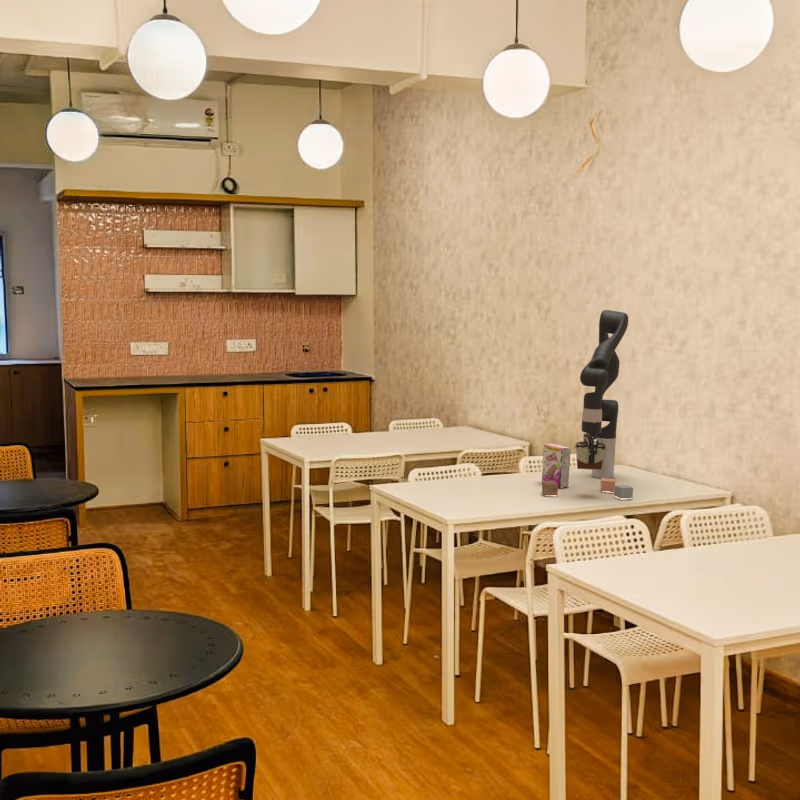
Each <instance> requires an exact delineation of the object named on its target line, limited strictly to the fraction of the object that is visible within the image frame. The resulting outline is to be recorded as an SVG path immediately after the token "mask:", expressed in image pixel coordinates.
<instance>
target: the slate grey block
mask: <svg viewBox="0 0 800 800" xmlns="http://www.w3.org/2000/svg"><path fill="white" fill-rule="evenodd" d="M633 493H634V487H632V486H630V485H628V484H615V491H614V495H615V496H617V497H619V498H631V497H632V498H633V496H634V495H633ZM614 495H613V496H614Z"/></svg>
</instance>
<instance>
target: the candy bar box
mask: <svg viewBox="0 0 800 800" xmlns="http://www.w3.org/2000/svg"><path fill="white" fill-rule="evenodd" d="M570 461H571V448H570V447H568V446H567V447H566V446H563V445H559V444H556V443H555V444H554V443H545V444H543V455H542V474H541V484H542V483H543V481H552V482H556V483H557V484H558V487H559V488H558V489H563V488H562V487H567V488H569V485H570V484H569V483H570V482H569V479H570Z"/></svg>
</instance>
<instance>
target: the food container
mask: <svg viewBox="0 0 800 800" xmlns="http://www.w3.org/2000/svg"><path fill="white" fill-rule="evenodd" d="M584 442H585V441H584V440H583V441H578V442H576V443H575V445H574V449H576V450H575V452H576V469H577V470H590V471H592V470H602V465H603V459H604V453H605V449H606V450H607V448H606V445H605V444H603V443H599V442H598V449H597V454H596V455H595V461H594V465H589V464H588V460H589V449H587V443H586V444H584ZM589 446H590V445H589ZM590 447H591V446H590ZM592 451H594V449H592Z"/></svg>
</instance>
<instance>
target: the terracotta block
mask: <svg viewBox="0 0 800 800" xmlns="http://www.w3.org/2000/svg"><path fill="white" fill-rule="evenodd" d="M615 485H616V480H615V479H614V478H609V479H606V478H600V492H601V491H610V492H614V493H615Z"/></svg>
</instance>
